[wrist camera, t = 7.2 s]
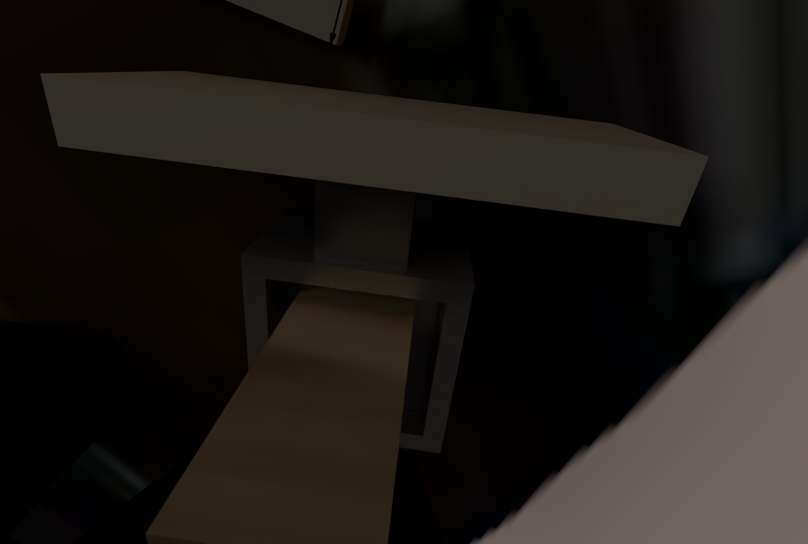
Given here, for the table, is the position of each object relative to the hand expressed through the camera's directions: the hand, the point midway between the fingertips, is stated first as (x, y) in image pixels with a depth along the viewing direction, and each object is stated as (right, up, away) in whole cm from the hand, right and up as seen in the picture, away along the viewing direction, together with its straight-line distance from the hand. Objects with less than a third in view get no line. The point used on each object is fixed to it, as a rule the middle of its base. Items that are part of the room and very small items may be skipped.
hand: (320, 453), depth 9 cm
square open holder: (+1, +4, +6) cm, 7 cm away
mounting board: (+1, +9, +5) cm, 10 cm away
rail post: (0, +2, +5) cm, 5 cm away
